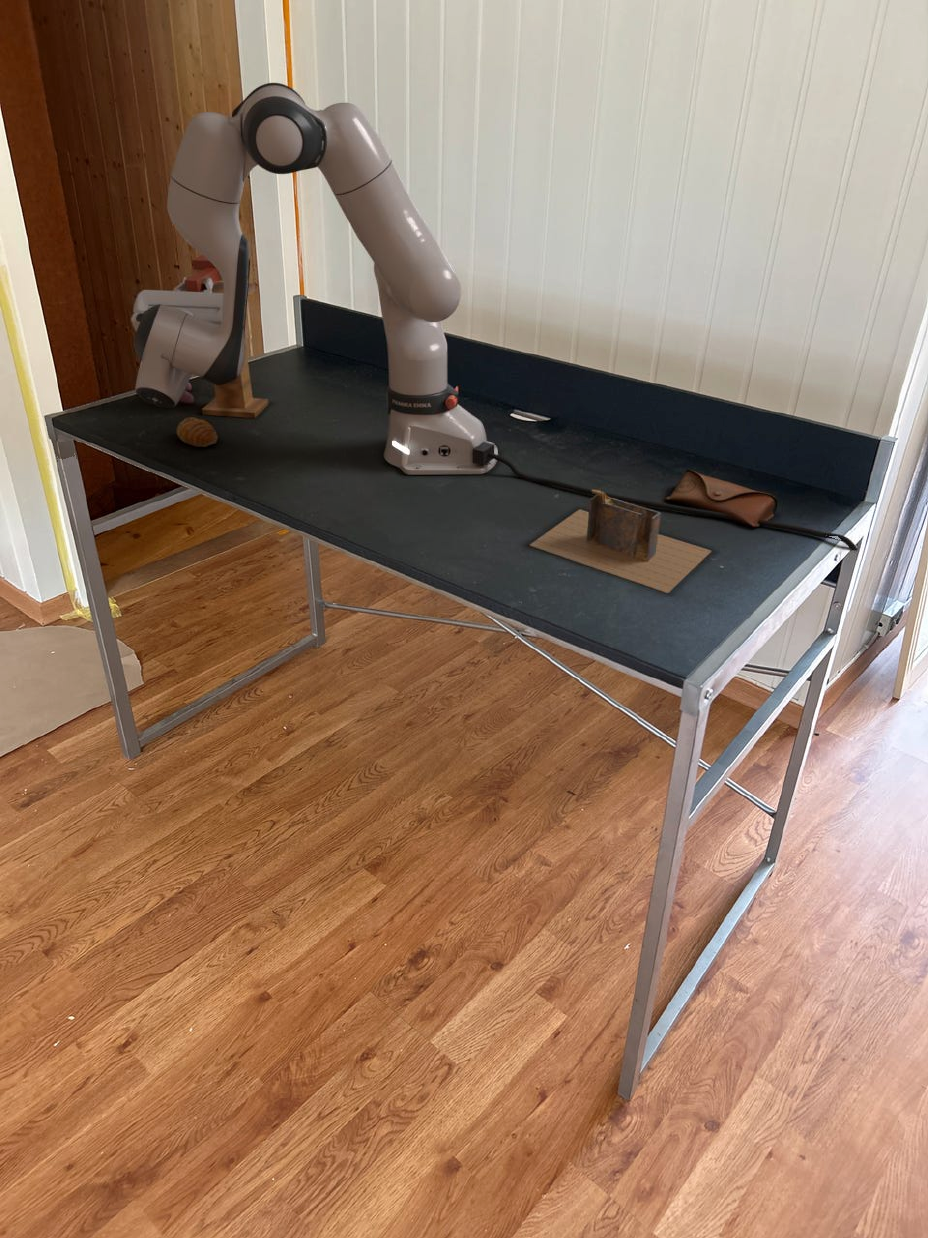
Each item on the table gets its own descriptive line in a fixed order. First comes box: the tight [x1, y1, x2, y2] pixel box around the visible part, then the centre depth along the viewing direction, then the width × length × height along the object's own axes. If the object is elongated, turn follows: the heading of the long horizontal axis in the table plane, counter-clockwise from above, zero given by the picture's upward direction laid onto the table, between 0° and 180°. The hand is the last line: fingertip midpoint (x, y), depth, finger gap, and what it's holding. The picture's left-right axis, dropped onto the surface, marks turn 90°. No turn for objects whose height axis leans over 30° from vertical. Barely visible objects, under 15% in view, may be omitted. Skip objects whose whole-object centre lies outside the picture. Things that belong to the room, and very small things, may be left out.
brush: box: [185, 254, 223, 292], centre depth 182 cm, size 8×17×4 cm, turn 171°
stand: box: [201, 281, 269, 419], centre depth 195 cm, size 12×9×26 cm
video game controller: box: [179, 381, 195, 404], centre depth 206 cm, size 10×5×7 cm, turn 17°
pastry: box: [175, 416, 219, 448], centre depth 186 cm, size 9×7×4 cm
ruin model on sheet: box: [529, 488, 712, 594], centre depth 148 cm, size 25×16×10 cm, turn 54°
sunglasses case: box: [665, 469, 778, 528], centre depth 163 cm, size 18×7×7 cm, turn 52°
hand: (199, 279), depth 178 cm, fingers closed on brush, 2 cm apart
